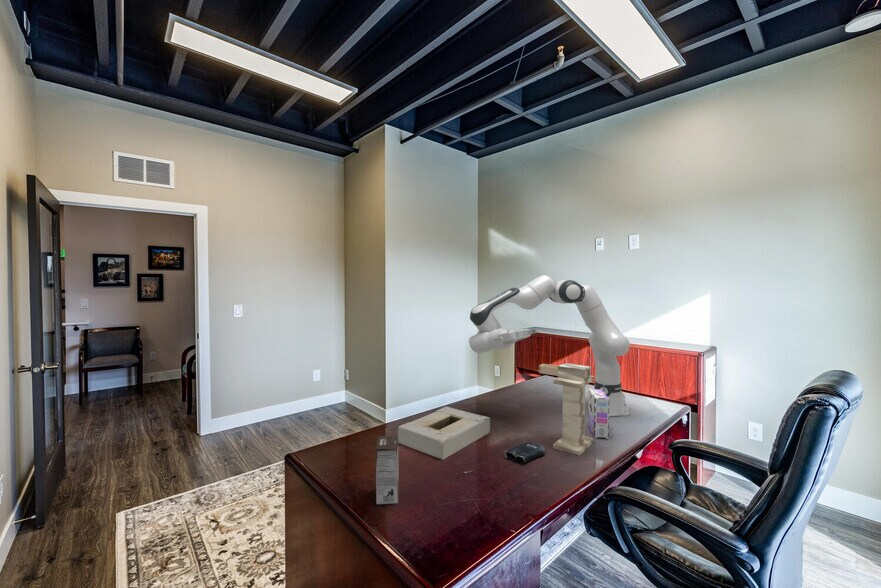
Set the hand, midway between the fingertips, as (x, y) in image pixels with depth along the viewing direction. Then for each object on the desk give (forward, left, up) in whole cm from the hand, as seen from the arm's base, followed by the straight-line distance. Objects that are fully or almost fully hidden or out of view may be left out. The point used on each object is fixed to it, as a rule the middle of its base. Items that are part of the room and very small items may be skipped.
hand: (532, 331), depth 161 cm
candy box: (-16, +22, -42) cm, 50 cm away
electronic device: (+22, +9, -43) cm, 49 cm away
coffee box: (+72, -10, -42) cm, 84 cm away
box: (+29, -24, -43) cm, 57 cm away
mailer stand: (+3, +19, -42) cm, 46 cm away
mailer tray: (+3, +14, -16) cm, 21 cm away
